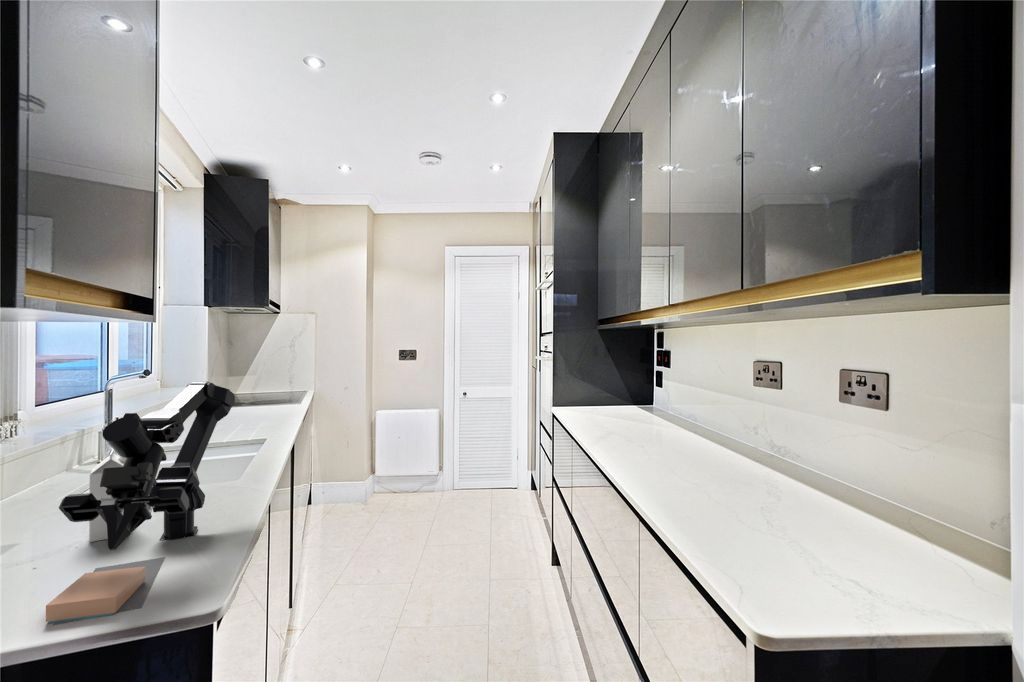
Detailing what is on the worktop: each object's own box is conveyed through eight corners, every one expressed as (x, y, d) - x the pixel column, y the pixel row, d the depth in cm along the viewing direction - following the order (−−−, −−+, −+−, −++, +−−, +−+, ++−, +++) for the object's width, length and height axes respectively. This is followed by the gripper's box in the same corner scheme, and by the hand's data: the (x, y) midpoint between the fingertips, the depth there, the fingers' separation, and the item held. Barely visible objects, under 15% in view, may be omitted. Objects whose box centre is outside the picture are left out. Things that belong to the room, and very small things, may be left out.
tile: (85, 573, 85) (45, 605, 74) (145, 566, 88) (115, 596, 77) (85, 588, 85) (45, 623, 74) (145, 581, 88) (115, 614, 77)
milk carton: (88, 543, 106) (89, 456, 106) (92, 532, 112) (93, 450, 112) (130, 535, 110) (130, 452, 110) (131, 526, 116) (132, 446, 116)
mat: (95, 571, 93) (95, 568, 93) (165, 559, 98) (165, 556, 98) (52, 629, 74) (52, 625, 74) (141, 611, 79) (141, 607, 79)
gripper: (65, 450, 87) (23, 535, 77) (184, 444, 93) (160, 522, 82) (88, 482, 95) (53, 563, 84) (197, 474, 100) (177, 550, 90)
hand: (111, 549), depth 85 cm, fingers closed
